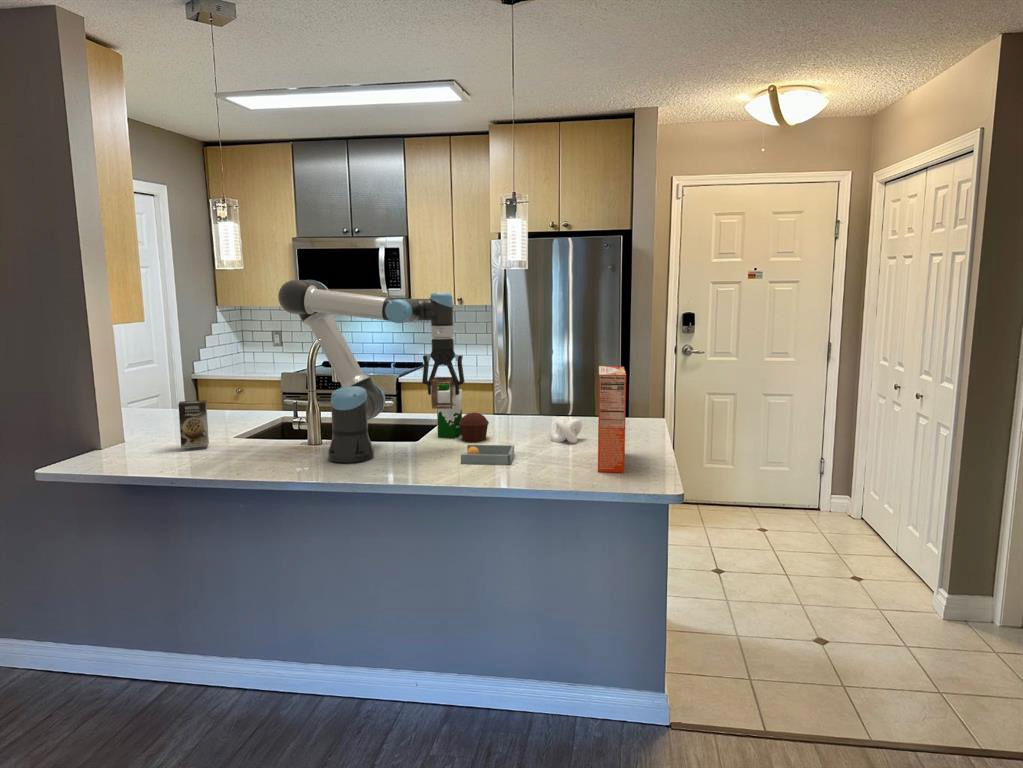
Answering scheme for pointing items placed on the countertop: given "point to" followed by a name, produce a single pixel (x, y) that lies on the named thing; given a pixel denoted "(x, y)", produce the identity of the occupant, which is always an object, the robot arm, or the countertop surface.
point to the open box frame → (435, 392)
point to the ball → (473, 450)
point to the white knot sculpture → (565, 429)
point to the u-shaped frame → (489, 458)
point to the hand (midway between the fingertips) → (443, 404)
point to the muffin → (473, 427)
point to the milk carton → (449, 414)
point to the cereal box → (611, 419)
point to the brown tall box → (193, 423)
